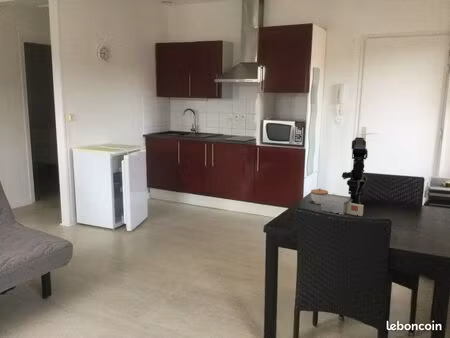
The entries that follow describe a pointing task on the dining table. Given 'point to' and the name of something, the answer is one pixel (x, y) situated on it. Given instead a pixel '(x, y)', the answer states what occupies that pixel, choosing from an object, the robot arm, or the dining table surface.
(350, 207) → the beige rectangular box
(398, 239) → the dining table surface
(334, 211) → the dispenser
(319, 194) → the lidded jar
